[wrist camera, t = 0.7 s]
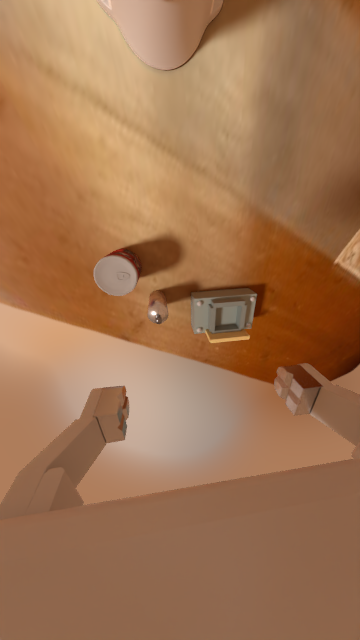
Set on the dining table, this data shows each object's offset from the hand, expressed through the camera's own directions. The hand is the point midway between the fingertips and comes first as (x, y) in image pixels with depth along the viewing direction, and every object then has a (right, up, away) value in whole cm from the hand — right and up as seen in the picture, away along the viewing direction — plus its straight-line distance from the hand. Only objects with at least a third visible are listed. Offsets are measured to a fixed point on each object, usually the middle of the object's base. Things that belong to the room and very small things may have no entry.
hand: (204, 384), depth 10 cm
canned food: (-15, +17, +34) cm, 41 cm away
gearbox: (+10, +7, +42) cm, 44 cm away
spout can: (-7, +9, +39) cm, 40 cm away
